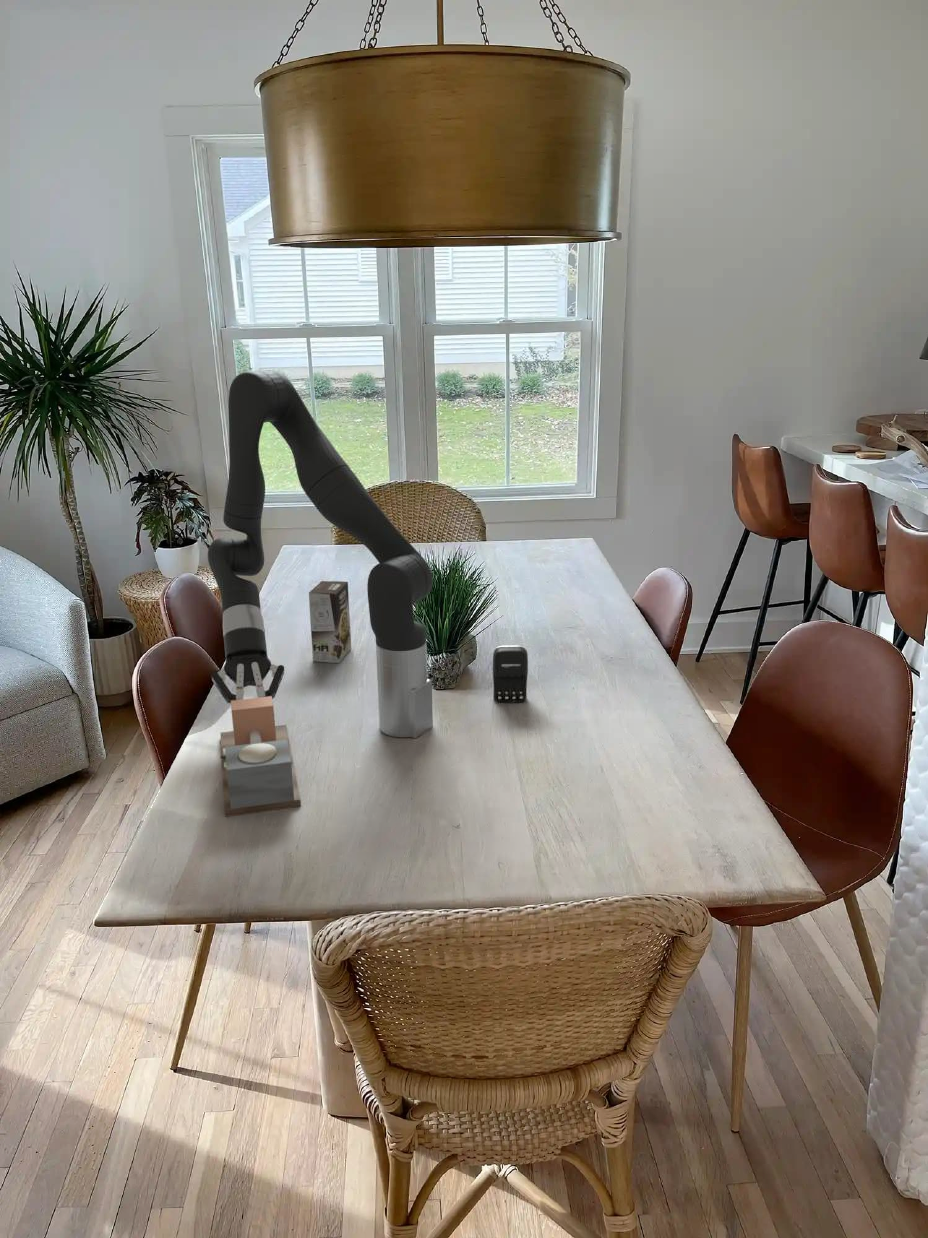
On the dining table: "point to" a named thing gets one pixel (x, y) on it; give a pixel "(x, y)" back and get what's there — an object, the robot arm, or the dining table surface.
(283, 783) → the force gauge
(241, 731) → the block on disc stand
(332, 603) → the coffee box
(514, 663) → the black battery charger
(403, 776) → the dining table surface
